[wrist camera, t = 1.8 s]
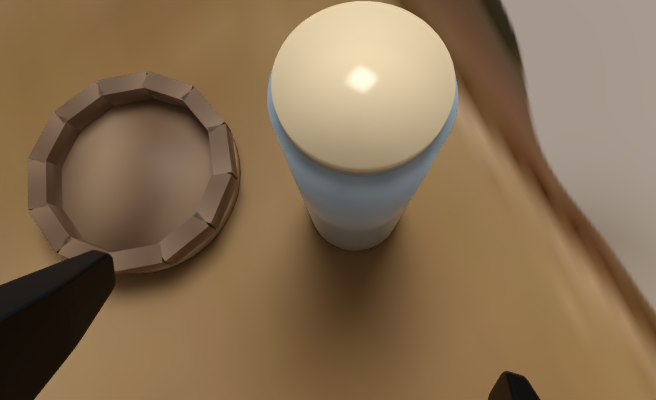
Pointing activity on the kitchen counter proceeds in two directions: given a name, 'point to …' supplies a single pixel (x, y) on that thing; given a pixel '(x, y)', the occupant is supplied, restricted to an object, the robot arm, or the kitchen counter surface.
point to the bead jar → (361, 115)
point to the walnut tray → (134, 173)
